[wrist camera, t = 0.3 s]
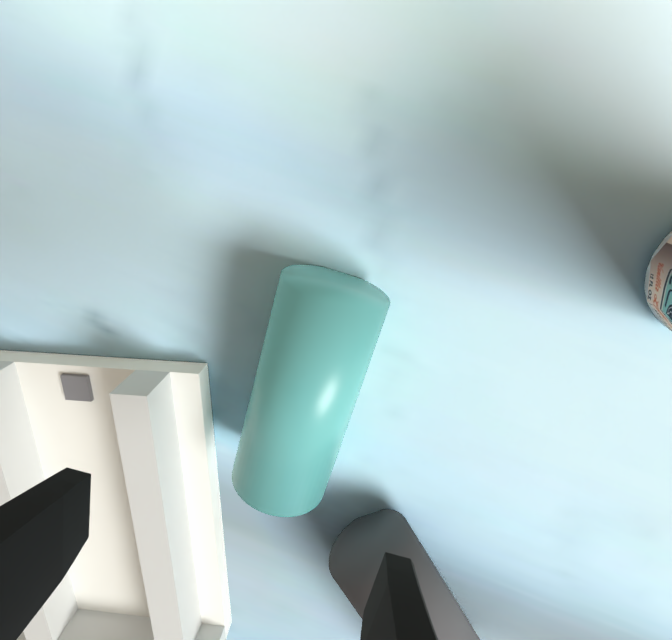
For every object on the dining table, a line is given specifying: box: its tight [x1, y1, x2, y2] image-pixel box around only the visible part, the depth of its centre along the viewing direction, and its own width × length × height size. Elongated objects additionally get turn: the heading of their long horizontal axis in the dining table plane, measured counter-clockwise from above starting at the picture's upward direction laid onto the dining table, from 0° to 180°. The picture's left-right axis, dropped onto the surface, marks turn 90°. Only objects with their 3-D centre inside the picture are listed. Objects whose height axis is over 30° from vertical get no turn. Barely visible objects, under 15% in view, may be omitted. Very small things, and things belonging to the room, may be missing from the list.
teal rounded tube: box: [232, 265, 390, 517], centre depth 18 cm, size 9×4×4 cm, turn 164°
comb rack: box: [0, 350, 232, 640], centre depth 23 cm, size 16×18×3 cm
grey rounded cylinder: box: [329, 509, 480, 640], centre depth 22 cm, size 9×4×4 cm, turn 29°
